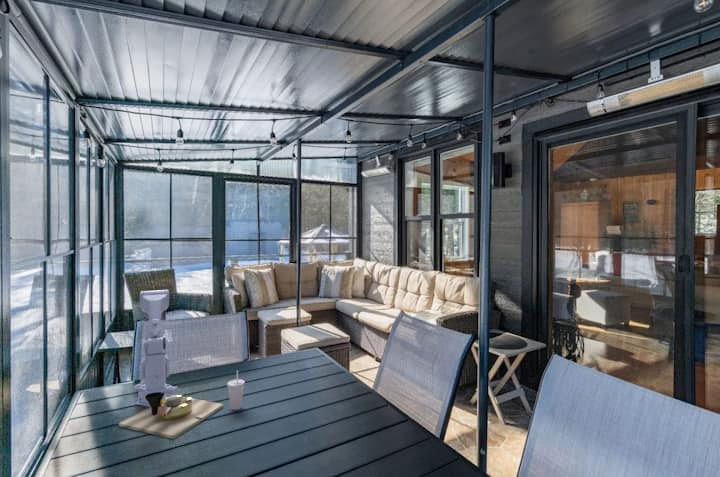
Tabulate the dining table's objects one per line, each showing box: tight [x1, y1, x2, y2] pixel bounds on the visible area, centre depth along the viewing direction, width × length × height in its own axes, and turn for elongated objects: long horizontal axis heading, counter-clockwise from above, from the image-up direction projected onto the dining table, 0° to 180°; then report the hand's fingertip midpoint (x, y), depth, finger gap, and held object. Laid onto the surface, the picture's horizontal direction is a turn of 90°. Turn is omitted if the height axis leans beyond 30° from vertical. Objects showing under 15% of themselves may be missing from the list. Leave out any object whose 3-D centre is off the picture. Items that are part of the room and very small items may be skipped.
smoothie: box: [226, 370, 246, 411], centre depth 146 cm, size 6×6×14 cm
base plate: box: [118, 394, 224, 440], centre depth 139 cm, size 24×24×6 cm
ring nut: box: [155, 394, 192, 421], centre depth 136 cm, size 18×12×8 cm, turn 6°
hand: (155, 413), depth 129 cm, fingers closed
